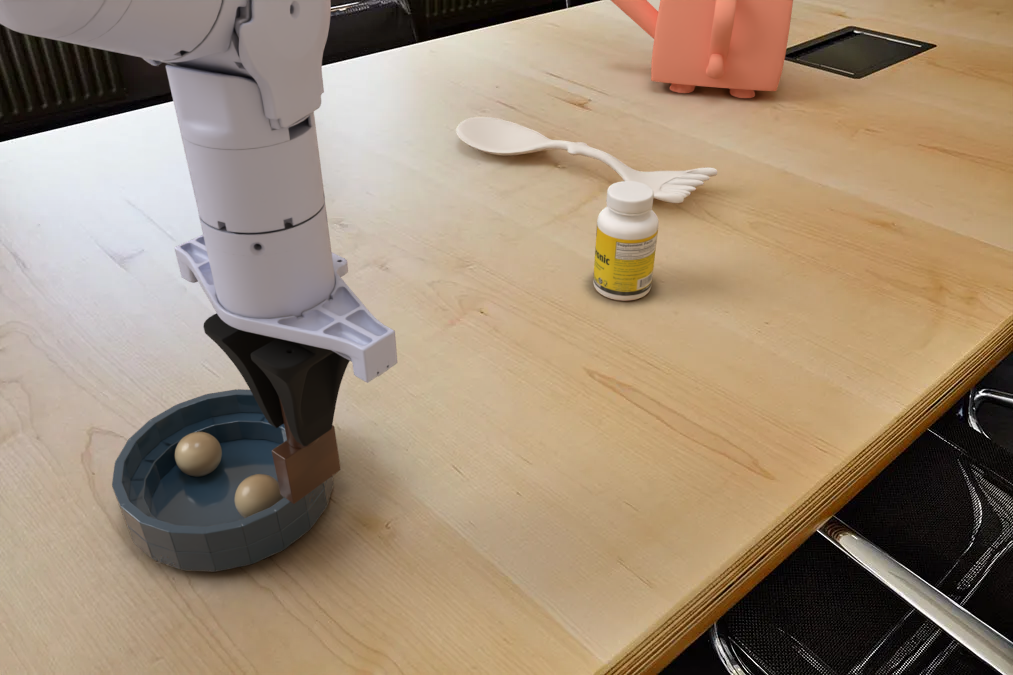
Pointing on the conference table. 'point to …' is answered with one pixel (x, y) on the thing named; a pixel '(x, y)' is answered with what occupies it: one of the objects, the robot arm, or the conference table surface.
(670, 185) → the spoon
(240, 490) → the bead near
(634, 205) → the supplement bottle
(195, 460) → the bead far
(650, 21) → the teapot
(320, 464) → the stir paddle
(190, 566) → the bowl
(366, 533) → the conference table surface
